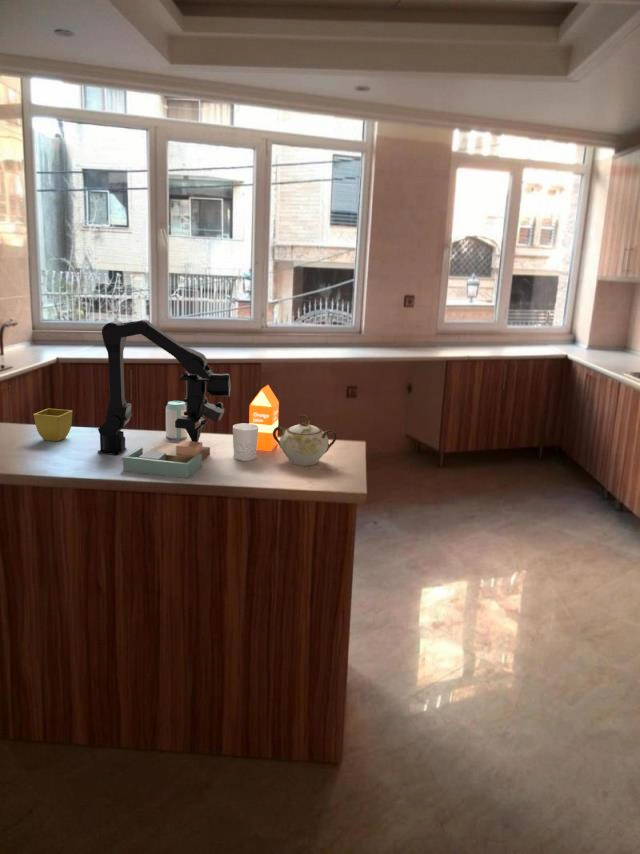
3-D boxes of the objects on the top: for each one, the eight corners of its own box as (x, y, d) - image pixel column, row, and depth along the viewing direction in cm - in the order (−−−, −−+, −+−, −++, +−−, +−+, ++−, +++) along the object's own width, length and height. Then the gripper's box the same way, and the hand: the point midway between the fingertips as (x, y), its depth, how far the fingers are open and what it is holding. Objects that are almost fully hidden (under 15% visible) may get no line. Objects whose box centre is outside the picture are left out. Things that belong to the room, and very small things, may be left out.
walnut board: (144, 460, 197) (144, 452, 196) (161, 449, 208) (161, 441, 208) (196, 466, 194) (196, 458, 194) (209, 454, 206) (210, 447, 205)
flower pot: (34, 441, 210) (32, 413, 207) (49, 434, 218) (48, 407, 216) (59, 444, 208) (58, 416, 206) (74, 437, 217) (73, 410, 214)
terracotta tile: (176, 453, 197) (176, 445, 196) (183, 448, 202) (183, 440, 202) (195, 455, 196) (195, 447, 195) (202, 450, 201) (202, 442, 201)
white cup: (253, 462, 200) (254, 430, 198) (228, 459, 202) (229, 428, 199) (260, 455, 208) (261, 424, 205) (236, 452, 209) (237, 422, 207)
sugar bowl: (266, 466, 198) (267, 417, 194) (277, 452, 212) (278, 406, 209) (331, 472, 196) (334, 423, 192) (337, 458, 210) (340, 412, 206)
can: (164, 435, 225) (164, 400, 222) (185, 433, 227) (185, 399, 224) (167, 440, 218) (167, 405, 215) (189, 439, 221) (189, 404, 218)
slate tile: (138, 465, 190) (138, 457, 190) (146, 459, 196) (146, 451, 196) (158, 467, 190) (158, 458, 189) (165, 461, 196) (165, 452, 195)
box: (123, 470, 187) (122, 457, 186) (139, 459, 197) (139, 447, 196) (188, 478, 184) (188, 464, 183) (201, 466, 194) (201, 453, 193)
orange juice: (277, 443, 222) (280, 385, 217) (271, 451, 213) (273, 390, 208) (255, 441, 223) (256, 383, 218) (247, 448, 214) (249, 388, 209)
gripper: (211, 403, 190) (210, 455, 194) (230, 391, 207) (229, 439, 211) (174, 400, 191) (174, 451, 195) (196, 388, 209) (196, 435, 213)
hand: (195, 444), depth 204 cm, fingers closed
